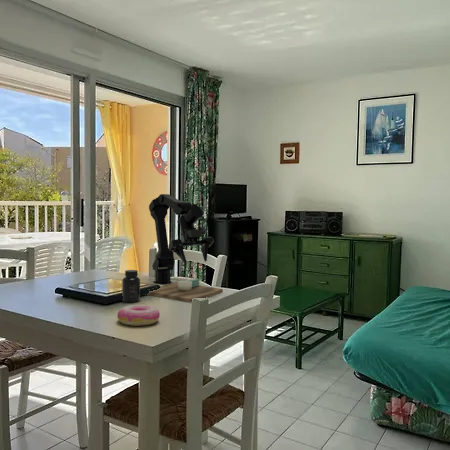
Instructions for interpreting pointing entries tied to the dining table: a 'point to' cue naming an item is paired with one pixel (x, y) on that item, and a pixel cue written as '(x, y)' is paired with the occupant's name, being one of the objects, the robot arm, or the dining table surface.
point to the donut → (138, 315)
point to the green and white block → (187, 284)
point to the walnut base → (184, 292)
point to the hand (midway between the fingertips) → (195, 262)
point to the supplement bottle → (131, 286)
